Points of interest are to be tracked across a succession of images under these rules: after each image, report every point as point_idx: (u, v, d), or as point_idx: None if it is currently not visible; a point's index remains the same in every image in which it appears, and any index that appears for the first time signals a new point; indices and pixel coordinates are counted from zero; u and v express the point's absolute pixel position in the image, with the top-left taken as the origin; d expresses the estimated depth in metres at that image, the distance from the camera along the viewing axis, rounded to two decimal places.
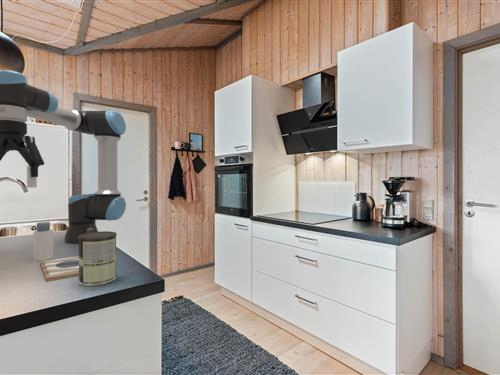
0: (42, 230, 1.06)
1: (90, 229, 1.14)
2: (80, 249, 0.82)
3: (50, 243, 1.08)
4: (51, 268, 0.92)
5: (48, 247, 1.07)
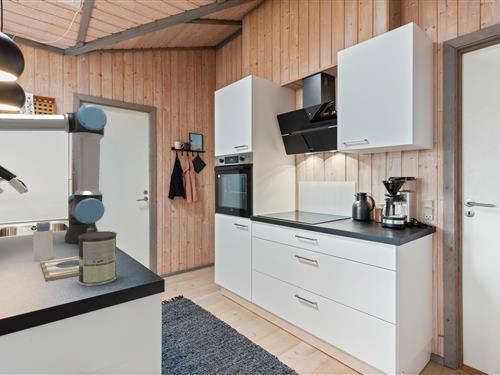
0: (42, 230, 1.06)
1: (90, 229, 1.14)
2: (80, 249, 0.82)
3: (50, 243, 1.08)
4: (51, 268, 0.92)
5: (48, 247, 1.07)
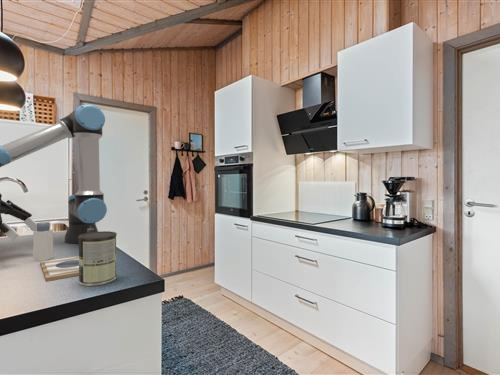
0: (42, 230, 1.06)
1: (90, 229, 1.14)
2: (80, 249, 0.82)
3: (50, 243, 1.08)
4: (51, 268, 0.92)
5: (48, 247, 1.07)
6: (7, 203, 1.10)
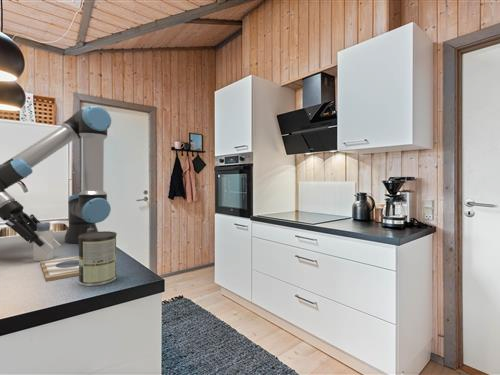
0: (42, 230, 1.06)
1: (90, 229, 1.14)
2: (80, 249, 0.82)
3: (50, 243, 1.08)
4: (51, 268, 0.92)
5: None
6: (30, 217, 1.11)
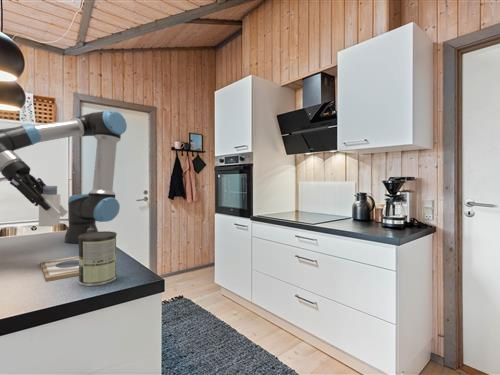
0: (48, 193, 0.98)
1: (90, 229, 1.14)
2: (80, 249, 0.82)
3: (57, 208, 1.00)
4: (51, 268, 0.92)
5: None
6: (37, 180, 1.04)
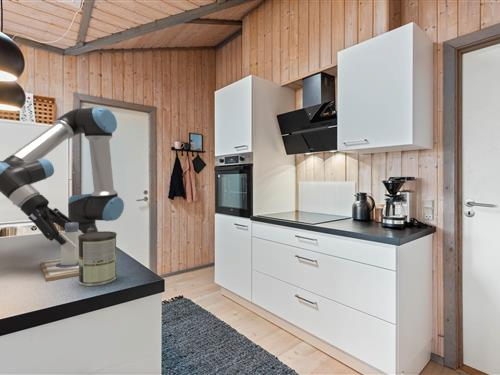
0: (71, 231, 0.96)
1: (90, 229, 1.14)
2: (80, 249, 0.82)
3: (78, 245, 0.99)
4: (51, 268, 0.92)
5: (76, 250, 0.97)
6: (54, 211, 1.02)
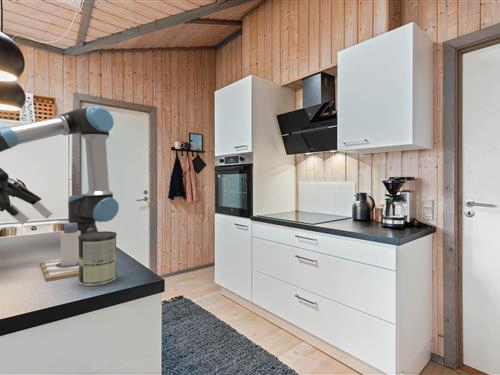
0: (70, 231, 0.96)
1: (90, 229, 1.14)
2: (80, 249, 0.82)
3: (78, 246, 0.98)
4: (51, 268, 0.92)
5: (76, 250, 0.97)
6: (14, 185, 0.99)
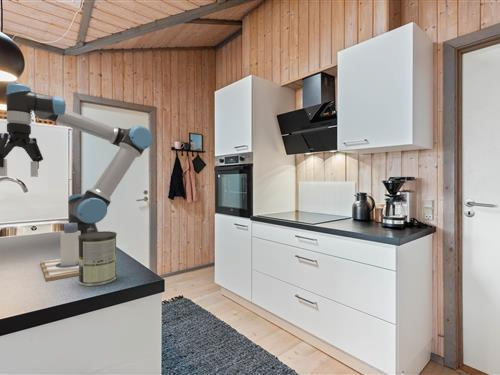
0: (70, 231, 0.96)
1: (90, 229, 1.14)
2: (80, 249, 0.82)
3: (78, 246, 0.98)
4: (51, 268, 0.92)
5: (76, 250, 0.97)
6: (32, 140, 1.19)
